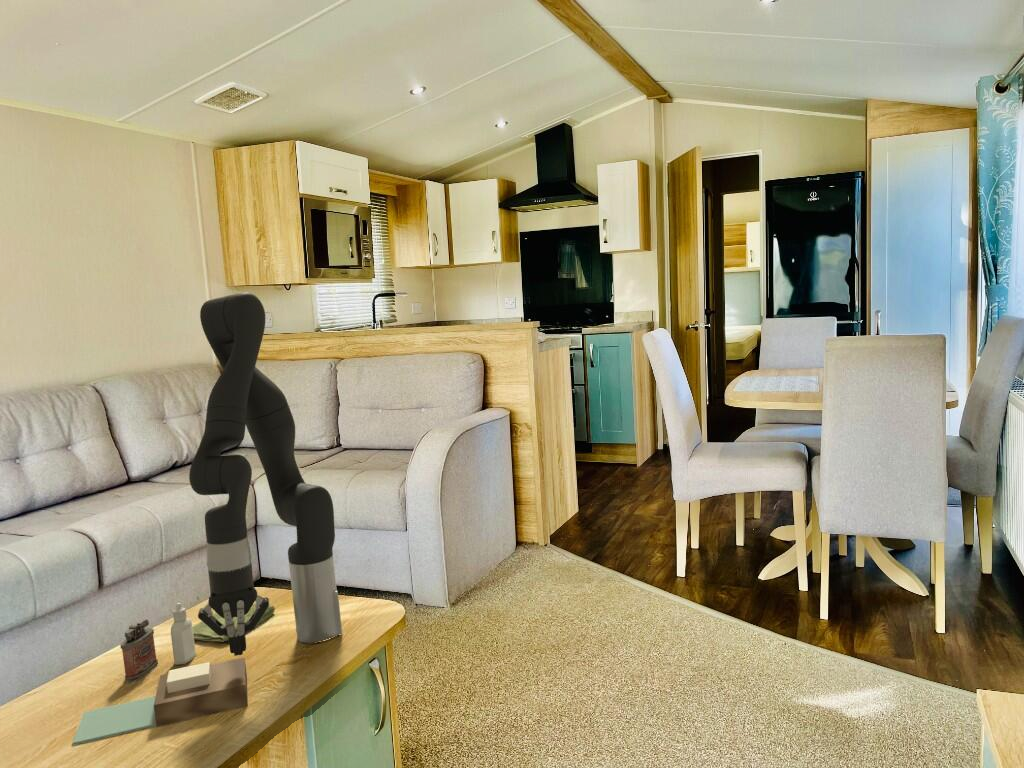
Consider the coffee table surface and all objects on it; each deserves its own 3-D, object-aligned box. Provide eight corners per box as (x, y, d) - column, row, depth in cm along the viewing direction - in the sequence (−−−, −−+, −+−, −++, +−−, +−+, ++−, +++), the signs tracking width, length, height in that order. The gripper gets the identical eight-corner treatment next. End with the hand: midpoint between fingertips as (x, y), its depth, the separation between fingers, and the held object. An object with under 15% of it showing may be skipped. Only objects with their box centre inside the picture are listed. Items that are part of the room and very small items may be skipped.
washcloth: (180, 643, 168) (178, 629, 168) (235, 610, 185) (233, 597, 184) (228, 648, 164) (226, 633, 163) (280, 614, 180) (278, 601, 180)
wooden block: (247, 676, 148) (244, 657, 148) (247, 705, 137) (245, 684, 137) (162, 695, 144) (160, 675, 143) (156, 727, 132) (153, 705, 132)
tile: (211, 672, 143) (209, 661, 143) (210, 683, 138) (208, 673, 138) (170, 680, 141) (169, 670, 140) (168, 693, 136) (166, 682, 136)
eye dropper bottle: (203, 654, 160) (196, 599, 159) (180, 666, 155) (173, 610, 154) (189, 651, 162) (183, 597, 161) (166, 663, 157) (159, 607, 156)
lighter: (135, 682, 150) (129, 633, 149) (120, 681, 151) (114, 633, 150) (162, 662, 158) (156, 616, 157) (147, 662, 158) (141, 616, 157)
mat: (162, 696, 143) (162, 694, 143) (156, 725, 133) (156, 723, 133) (84, 713, 139) (84, 711, 139) (72, 745, 129) (72, 742, 128)
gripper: (267, 551, 146) (275, 639, 148) (192, 562, 142) (201, 652, 144) (267, 563, 139) (276, 654, 140) (189, 575, 135) (198, 669, 136)
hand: (238, 653), depth 142 cm, fingers closed
